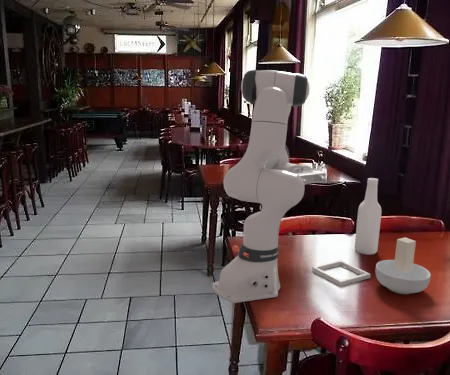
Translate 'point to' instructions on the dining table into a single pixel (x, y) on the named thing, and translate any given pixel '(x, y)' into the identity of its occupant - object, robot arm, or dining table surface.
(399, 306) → the dining table surface
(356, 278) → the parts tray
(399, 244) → the stone block
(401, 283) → the cereal bowl
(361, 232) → the alcohol
